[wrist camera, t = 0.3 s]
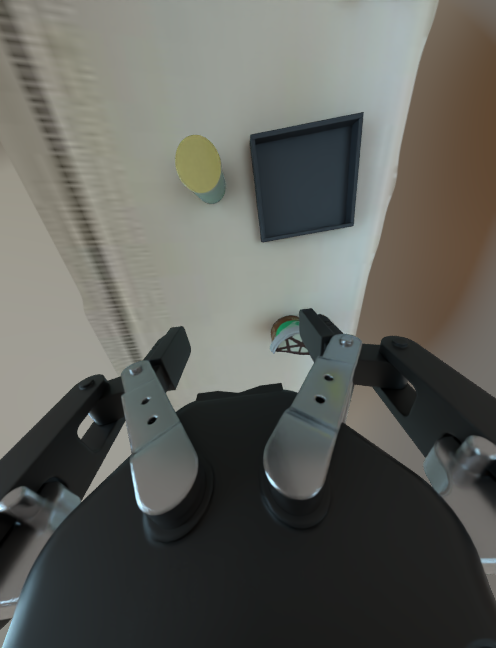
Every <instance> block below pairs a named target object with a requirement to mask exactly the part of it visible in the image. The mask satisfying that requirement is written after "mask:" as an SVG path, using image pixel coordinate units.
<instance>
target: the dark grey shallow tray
mask: <svg viewBox="0 0 496 648" xmlns="http://www.w3.org/2000/svg"><path fill="white" fill-rule="evenodd" d="M363 113H364V112H361V113H356V114H351V115H346V116H341V117H336V118H331V119H327V120H322V121H317V122H312V123H307V124H302V125H297V126H292V127H287V128H282V129H277V130H272V131H267V132H262V133H257V134H252V135H250V149H251V158H252V166H253V175H254V183H255V192H256V200H257V209H258V217H259V226H260V235H261V242H267V241H273V240H278V239H284V238H289V237H295V236H300V235H306V234H312V233H317V232H323V231H328V230H334V229H340V228H345V227H351V226H354V214H355V203H356V191H357V180H358V169H359V158H360V146H361V135H362V124H363Z"/></svg>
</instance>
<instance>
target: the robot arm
mask: <svg viewBox="0 0 496 648" xmlns="http://www.w3.org/2000/svg"><path fill="white" fill-rule="evenodd" d="M299 332H300V337H301V339H302V341H303V343H304V345H305V347H306V348H307V350H308V352H309V354H310V356H311V358H312V359H313V361H314V364H313V366H312V368H311V369H310V371H309V373H308V375H307V377H306V379H305V381H304V383H303V384H302V386H301V388H300V390H299V392H298V393H297V392H294V391H290V390H283V387H282V383H277V384H269V385H262V386H258V387H255V388H252V389H249V390H246V391H243V392H240V393H234V392H223V391H214V392H206V393H199V394H197V398H196V401H194V402H191V403H189V404H187V405H185V406H184V407H182V408H181V409H179V410H178V411H177V412H175V410H174V409H173V407H172V405H171V403H170V401H169V399H168V397H167V395H166V392H167V391H171V390H176V387H177V385H178V383H179V380H180V378H181V375H182V373H183V370H184V368H185V366H186V363H187V361H188V358H189V356H190V353H191V346H190V343H189V340H188V337H187V334H186V332H185V329H184V327H183V326H180V327H173V328H170V330H169V331H168V332H167V334H166V335H165V336H163V337H162V338H161V339H159V340H158V341H157V343H156V344H155V346H153V348H152V350H150V352H149V353H148V354H147V356H146V357H145V358H144V360H143V361H139V362H136V363H133V364H131V365H130V366H128V367H127V368H126V369H124V370H123V372H122V373H121V377H118V378H115V379H112V380H109V381H107V380H106V378H105V377H104V376H103V375H100V374H98V375H93V376H91V377H88V378H86V379H84V380H82V381H81V382H79V383H78V384H76V385H75V386H74V387H73V388H72V389H71V390H70V391H69V392H68V393H67V394H66V395H65V396H64V397H63V398H62V399H61V400H60V401H59V402H58V403H57V404H56V405H55V406H54V407H53V408H52V409H51V410H50V411H49V412H48V413H47V414H46V415H45V416H44V417H43V418H42V419H41V420H40V421H39V422H38V423H37V424H36V425H35V426H34V427H33V428H32V429H31V430H30V431H29V432H28V433H27V434H26V435H25V436H24V437H23V438H22V439H21V440H20V441H19V442H18V443H17V444H16V445H15V446H14V447H13V448H12V449H11V450H10V451H9V452H8V453H7V454H6V455H5V456H4V457H3V458H2V459H1V460H0V629H1V628H3V627H4V626H5V625H6V624H7V623H8V622H9V620H11V619H12V618H13V619H12V622H11V625H10V627H9V630H8V633H7V636H6V638H5V641H4V644H3V646H2V648H496V600H495V598H494V595H493V593H492V591H491V588H490V586H489V583H488V580H487V577H486V575H496V398H494V397H493V396H491V395H490V394H488V393H487V392H486V391H484V390H483V389H481V388H480V387H479V386H477V385H476V384H474V383H473V382H471V381H470V380H469V379H467V378H466V377H464V376H463V375H461V374H460V373H459V372H457V371H456V370H454V369H453V368H451V367H450V366H449V365H447V364H446V363H444V362H443V361H441V360H440V359H439V358H437V357H436V356H434V355H433V354H431V353H430V352H429V351H427V350H426V349H424V348H423V347H421V346H420V345H419V344H417V343H416V342H414V341H412V340H410V339H408V338H404V337H399V336H387V337H384V338H383V339H382V340H381V344H380V345H373V344H362V341H361V340H360V339H359V338H357V337H356V336H353V335H349V334H343V333H342V332H341V331H340V330H339V329H338V328H337V327H336V326H335V325H334V324H333V323H332V322H331V321H330V320H329V319H328V318H327V317H326V316H324V315H321V314H318V315H317V314H316V312H315V311H314V310H313V309H312V308H309V309H302V310H300V311H299ZM408 381H409V382H410V383H411V384H412V385H413V386H414V388H415V390H416V391H415V390H414V389H413V388H412V387H411V386H410V385H409V384H408V383H407V382H408ZM354 385H363V386H371V387H373V389H374V390H375V391H376V393H377V394H378V395H379V397H380V398H381V399H382V401H383V402H384V403H385V405H386V406H387V407H388V409H389V410H390V411H391V413H392V414H393V415H394V417H395V418H396V419H397V421H398V422H399V423H400V425H401V426H402V427H403V429H404V430H405V431H406V433H407V434H408V435H409V437H410V438H411V439H412V441H413V442H414V443H415V445H416V446H417V447H418V449H419V450H420V451H421V453H422V454H423V455H424V457H425V460H424V463H423V466H424V471H425V474H426V476H427V478H428V479H429V481H430V483H431V485H432V487H431V485H429V484H428V483H427V482H426V481H425V480H424V479H422V478H421V477H420V476H418V475H417V474H416V473H414V472H413V471H412V470H410V469H409V468H407V467H406V466H405V465H403V464H402V463H400V462H399V461H397V460H396V459H395V458H393V457H392V456H390V455H389V454H387V453H386V452H384V451H383V450H382V449H380V448H379V447H377V446H376V445H375V444H373V443H371V442H370V441H369V440H367V439H366V438H364V437H363V436H362V435H360V434H359V433H357V432H356V431H355V430H353V429H351V428H350V427H349V426H347V425H346V419H347V414H348V409H349V406H350V401H351V397H352V393H353V389H354ZM87 415H89V416H90V417H91V418H92V419H93V420H94V422H93V423H92V425H91V426H90V428H89V429H88V430H87V432H86V433H85V435H84V436H83V438H82V439H80V438H79V437H78V435H77V430H78V427H79V425H80V424H81V422H82V421H83V420H84V419H85V417H86V416H87ZM125 421H126V425H127V430H128V436H129V441H130V446H131V452H132V454H131V455H130V456H129V457H128V458H127V459H126V460H125V461H124V462H123V463H122V464H121V465H120V466H119V467H118V468H117V469H116V470H115V471H114V472H113V473H112V474H110V475H109V476H108V477H107V478H106V479H105V480H104V481H103V482H102V483H101V484H100V485H99V486H98V487H97V488H96V489H95V490H94V491H93V492H92V493H91V494H90V495H89V496H87V497H86V498H85V499H84V500H83V501H82V502H81V500H82V499H83V497H84V495H85V493H86V491H87V490H88V488H89V486H90V484H91V482H92V480H93V479H94V477H95V475H96V473H97V471H98V470H99V468H100V466H101V464H102V462H103V460H104V459H105V457H106V455H107V453H108V451H109V450H110V448H111V446H112V444H113V442H114V441H115V438H116V437H117V435H118V433H119V431H120V430H121V428H122V426H123V424H124V422H125Z"/></svg>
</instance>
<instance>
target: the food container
mask: <svg viewBox="0 0 496 648" xmlns="http://www.w3.org/2000/svg"><path fill="white" fill-rule="evenodd" d="M271 338H272V343H271V346H270V350H271V351H272V352H273V354H274V353H275V351H277V352H287V353H293V354H299V355H310V354H309V352H308V350H307V348H306V347H305V345H304V343H303V341H302V339H301V337H300V332H299V317H297V316H285V317H282V318H280V319H279V320H278V321H276V322H275V323H274V325H273V327H272V329H271Z"/></svg>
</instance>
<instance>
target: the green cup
mask: <svg viewBox="0 0 496 648" xmlns="http://www.w3.org/2000/svg"><path fill="white" fill-rule="evenodd" d="M175 164H176V170H177V173H178V175H179V178H180V179H181V181H182V182H183V184H184V185H185V186H186V187H187V188H188V189H189V190H191V191H192V192H194V193H195V194H196V195H197V196H198V197H199V198H200V199H201V200H202V201H204V202H205V203H208V204H214V203H217V202H219V201H220V200H221V199H222V198H223V196H224V194H225V189H226V183H225V179H224V175H223V171H222V166H221V161H220V157H219V154H218V152H217V150H216V148H215V146H214V145H213V144H212V143H211V142H210V141H209V140H208V139H207V138H205V137H203V136H200V135H191V136H188V137H186V138H185V139H183V140H182V141H181V143H180V144H179V146H178V148H177V151H176V156H175Z"/></svg>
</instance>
